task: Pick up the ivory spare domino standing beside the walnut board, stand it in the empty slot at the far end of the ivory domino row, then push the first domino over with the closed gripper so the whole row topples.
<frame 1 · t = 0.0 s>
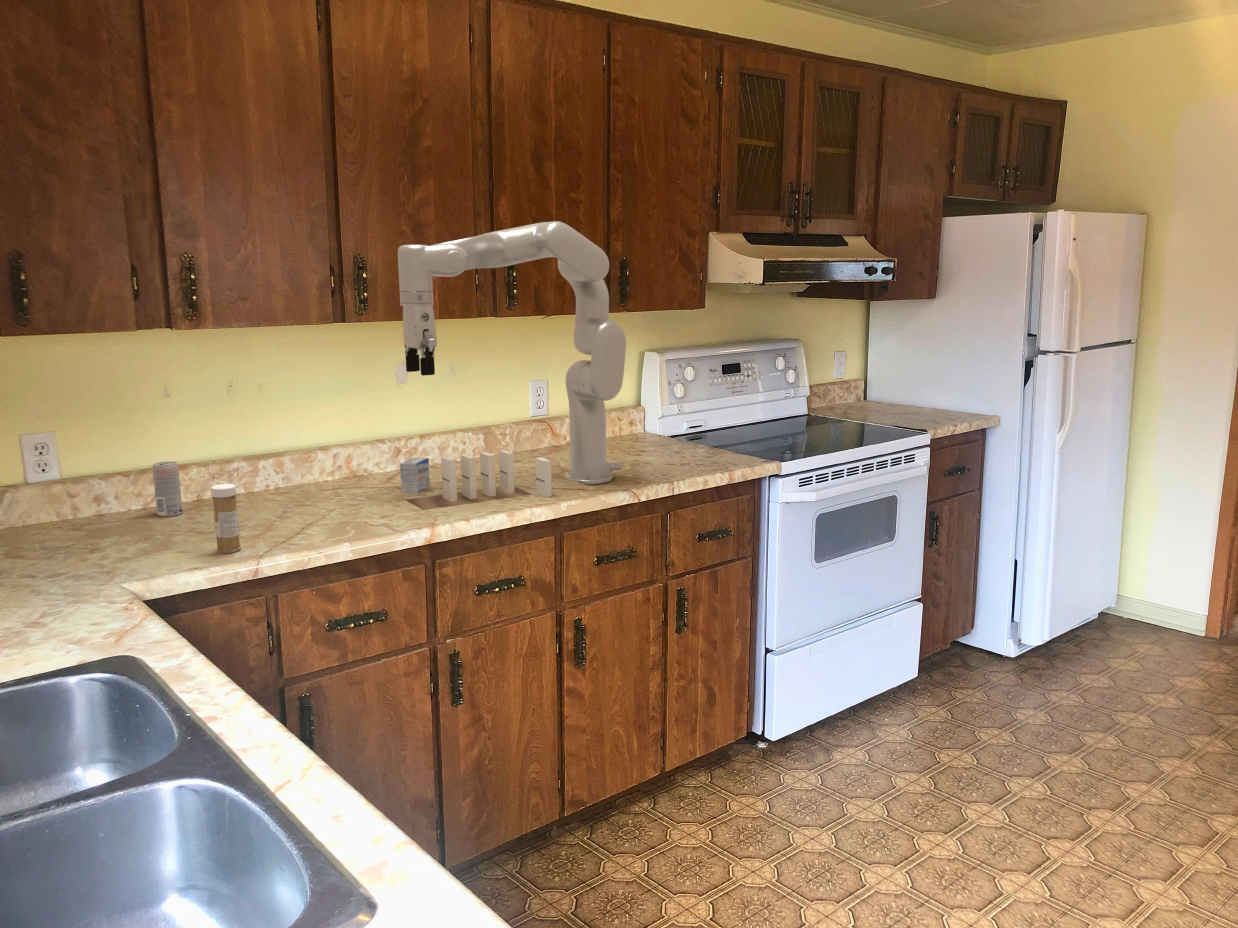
hand: (420, 373, 226), 31 cm above the counter, tool pointing down, fingers open, 9 cm apart
medicine box: (416, 495, 241), on the counter
domino 3: (469, 496, 233), point 1 cm above the counter, touching walnut board
energy drink: (170, 515, 223), on the counter
walnut board: (469, 501, 233), on the counter
sprinkles bottle: (229, 551, 194), on the counter
domino 2: (488, 494, 235), point 1 cm above the counter, touching walnut board
domino 1: (507, 491, 238), point 1 cm above the counter, touching walnut board
domino 4: (449, 499, 230), point 1 cm above the counter, touching walnut board
spare domino: (543, 499, 234), on the counter
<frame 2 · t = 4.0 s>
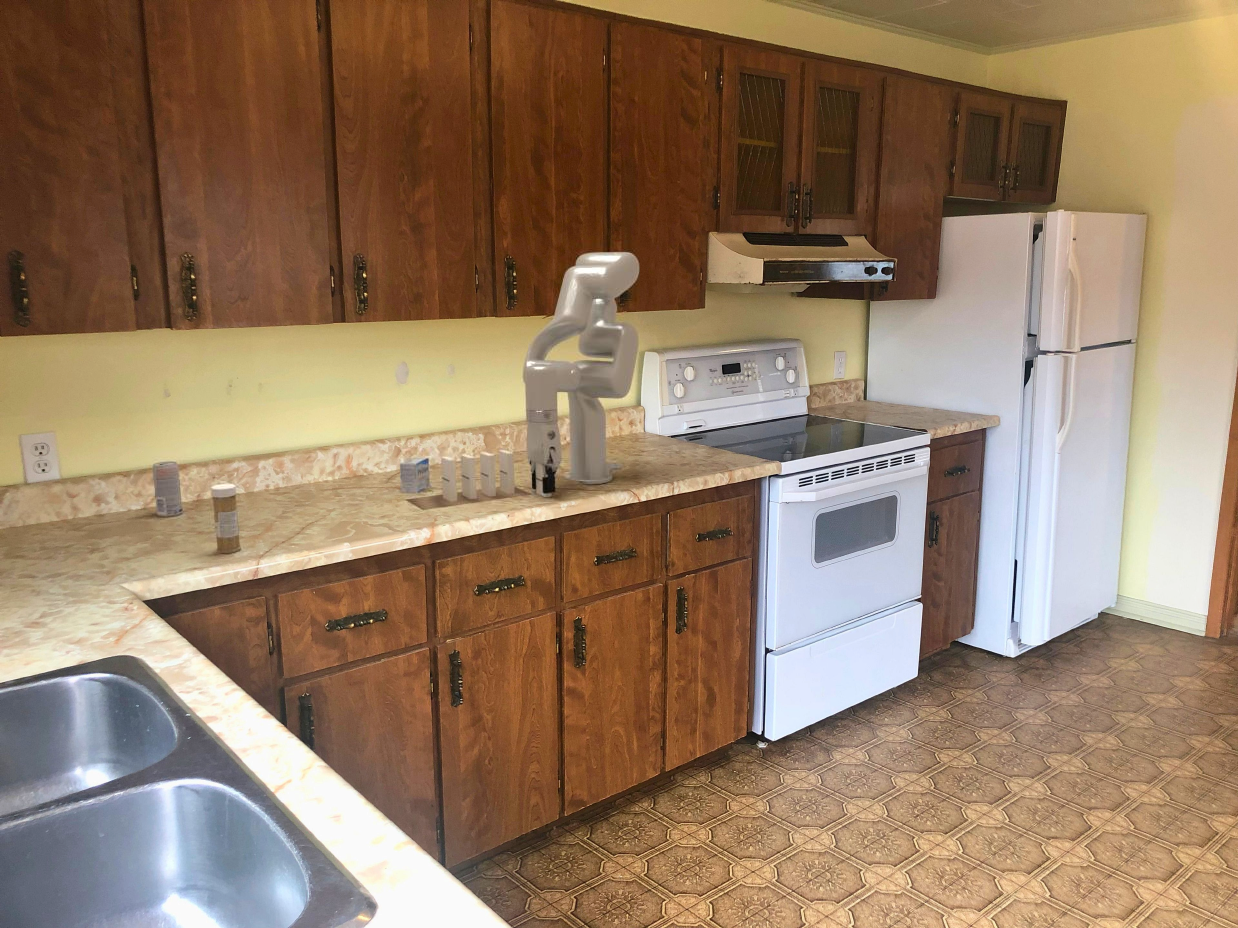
hand: (543, 489, 234), 2 cm above the counter, tool pointing down, fingers closed on spare domino, 4 cm apart
spare domino: (543, 499, 234), on the counter, touching gripper
everything else where it was.
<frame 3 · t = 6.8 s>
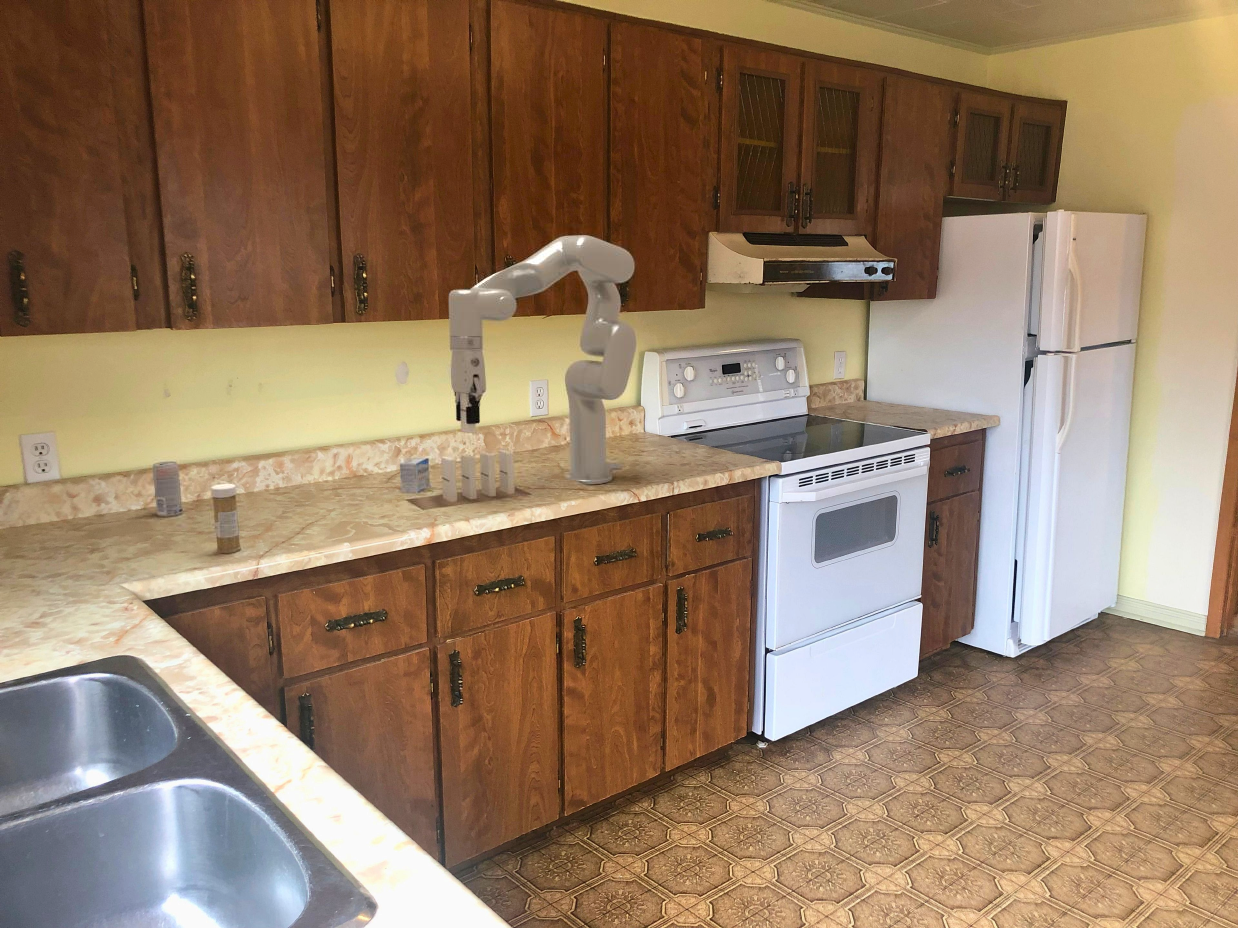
hand: (468, 421, 226), 20 cm above the counter, tool pointing down, fingers closed on spare domino, 4 cm apart
spare domino: (468, 431, 226), point 18 cm above the counter, touching gripper
everything else where it was.
when the fingers open (4 cm above the counter, at t = 10.0 s): spare domino stays where it is, resting on walnut board.
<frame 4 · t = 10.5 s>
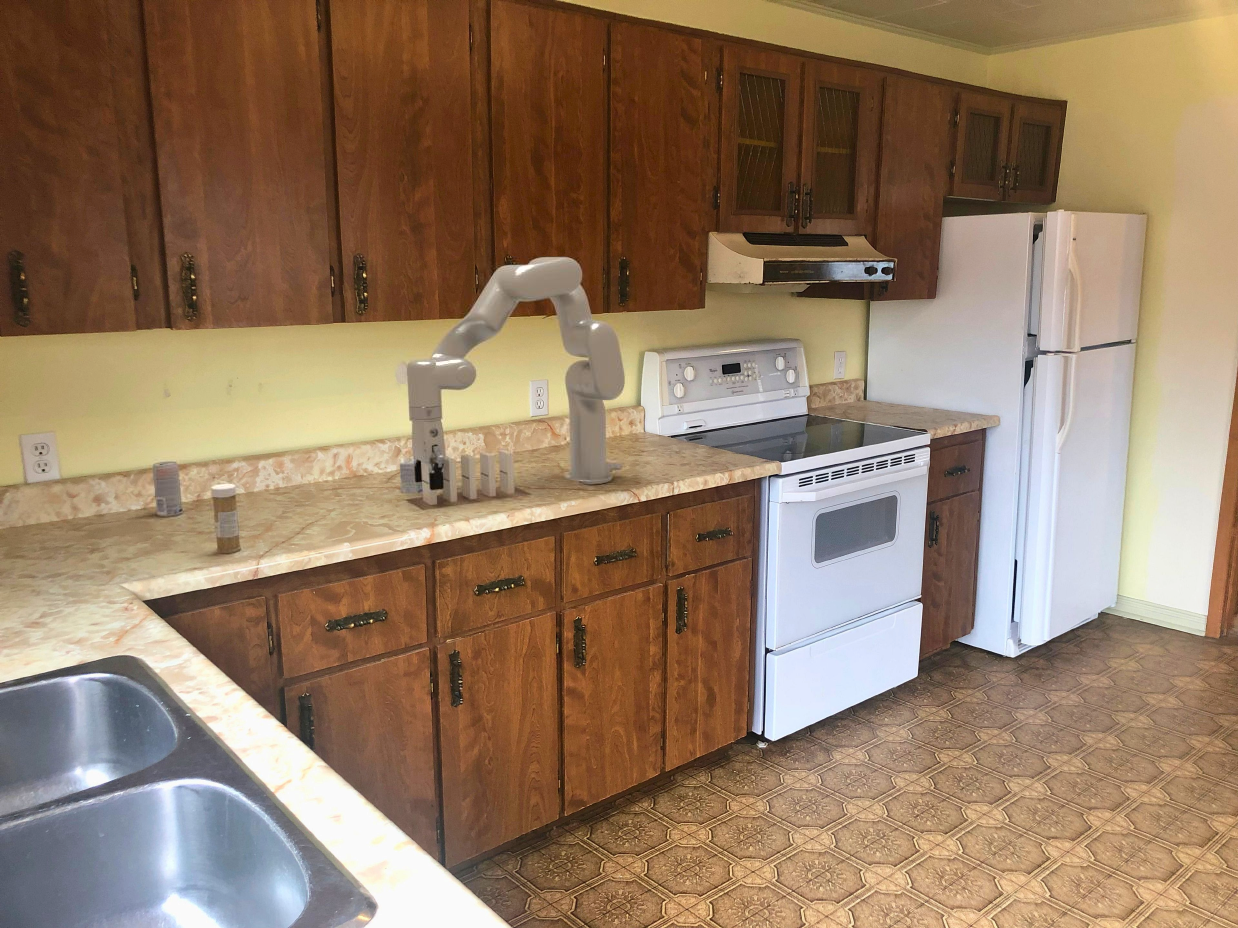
hand: (429, 485, 227), 5 cm above the counter, tool pointing down, fingers open, 9 cm apart
spare domino: (430, 502, 227), point 1 cm above the counter, touching walnut board
everything else where it was.
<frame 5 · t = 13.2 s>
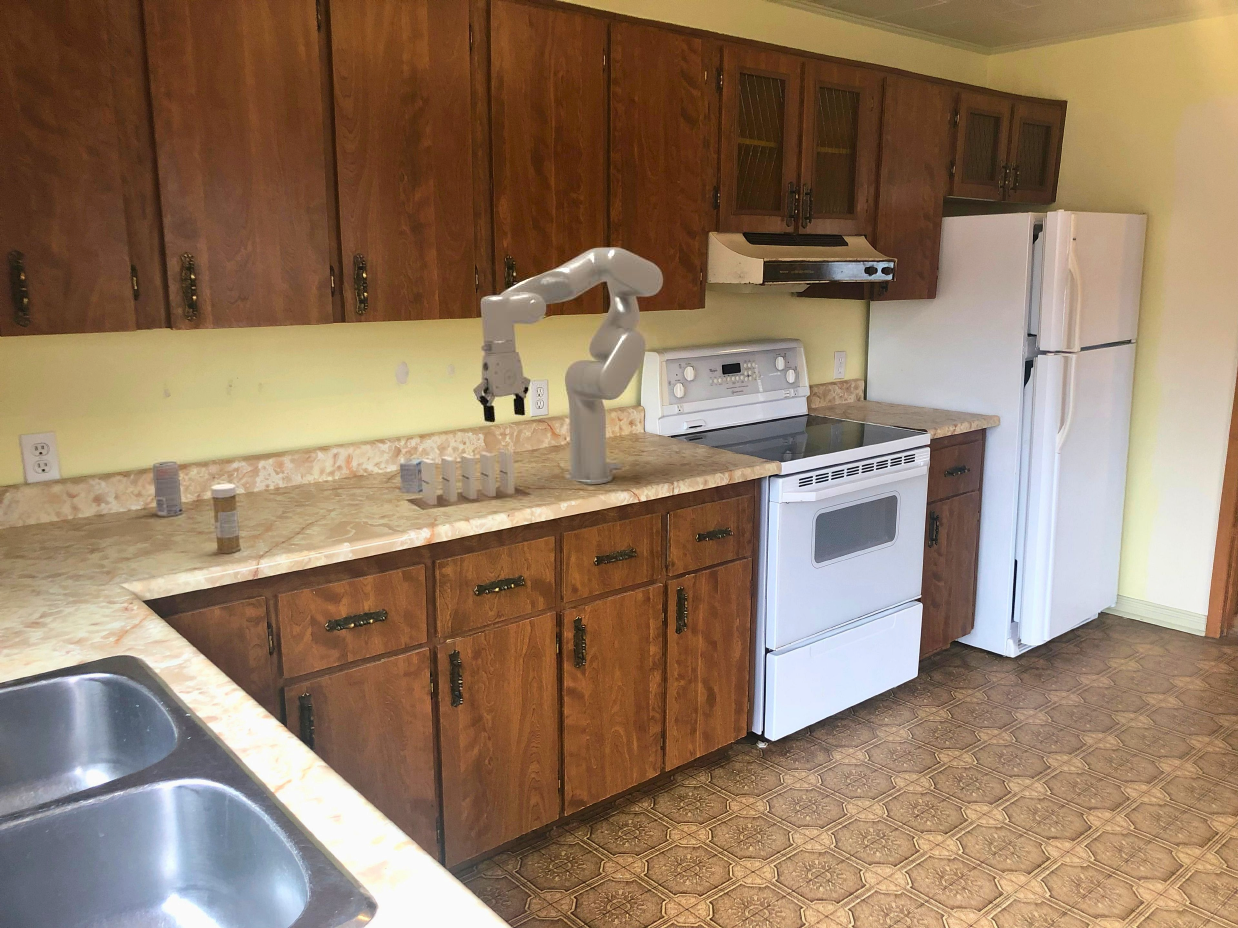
hand: (505, 418, 234), 19 cm above the counter, tool pointing down, fingers open, 9 cm apart
nothing on the counter moved.
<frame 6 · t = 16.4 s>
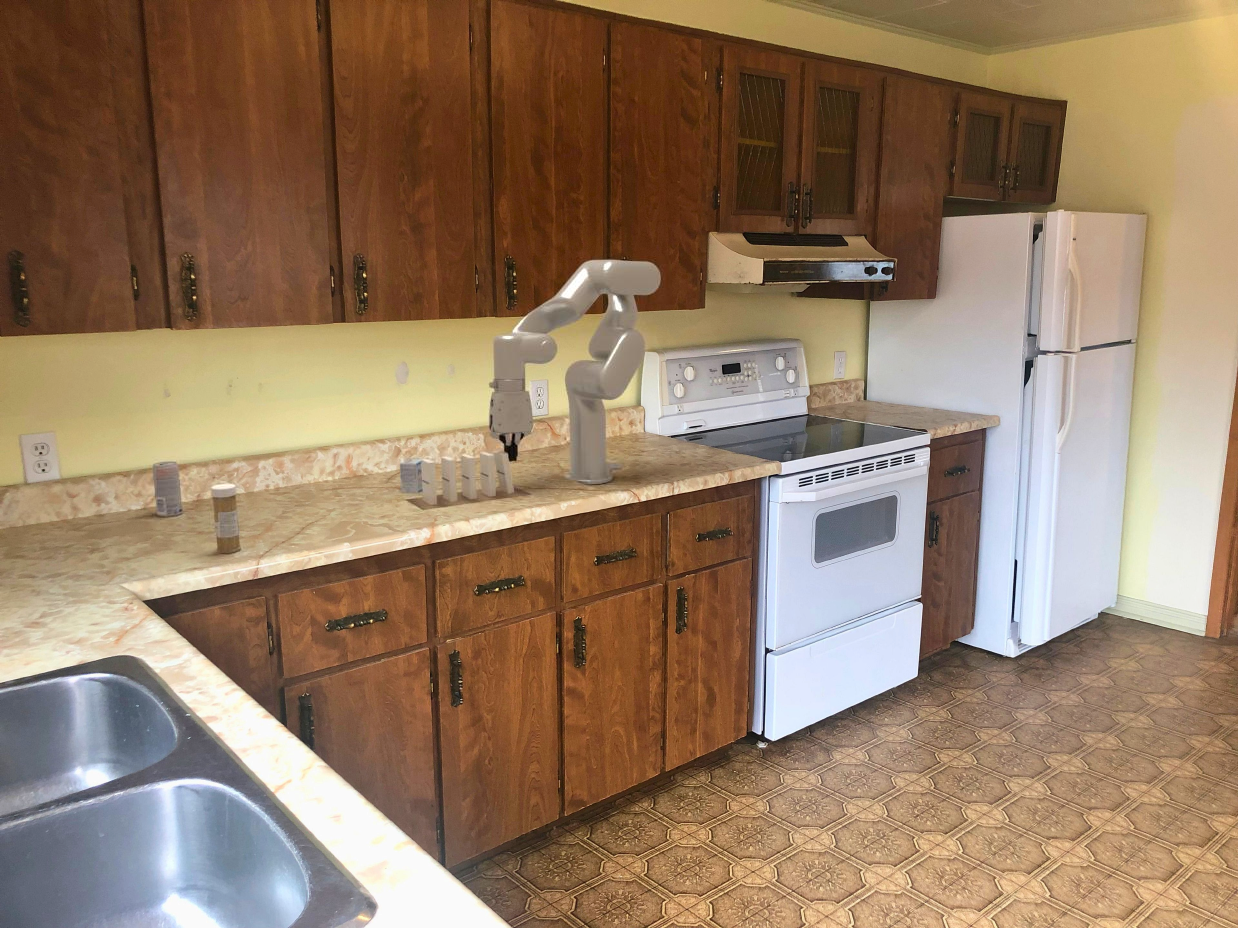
hand: (511, 460, 237), 9 cm above the counter, tool pointing down, fingers closed
domino 1: (507, 491, 238), point 1 cm above the counter, tilted 9°, touching walnut board
everything else where it was.
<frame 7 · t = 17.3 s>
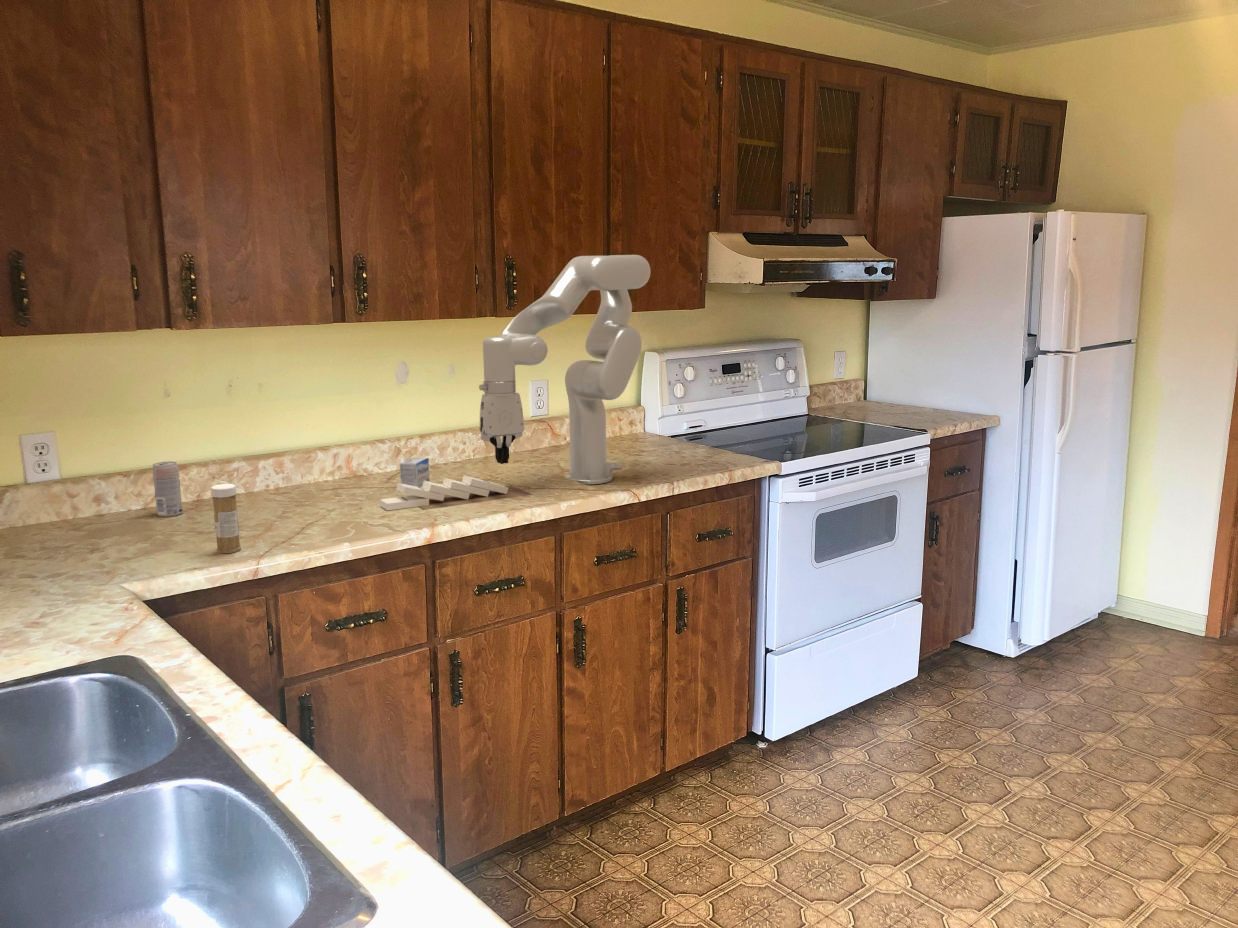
hand: (502, 462, 236), 9 cm above the counter, tool pointing down, fingers closed
domino 3: (464, 494, 232), point 2 cm above the counter, tilted 71°, touching domino 2, walnut board
domino 2: (484, 491, 234), point 2 cm above the counter, tilted 71°, touching domino 1, domino 3, walnut board
domino 1: (503, 489, 237), point 2 cm above the counter, tilted 70°, touching domino 2
domino 4: (440, 495, 229), point 2 cm above the counter, tilted 72°, touching spare domino
spare domino: (425, 499, 227), point 2 cm above the counter, tilted 90°, touching domino 4, walnut board
everything else where it was.
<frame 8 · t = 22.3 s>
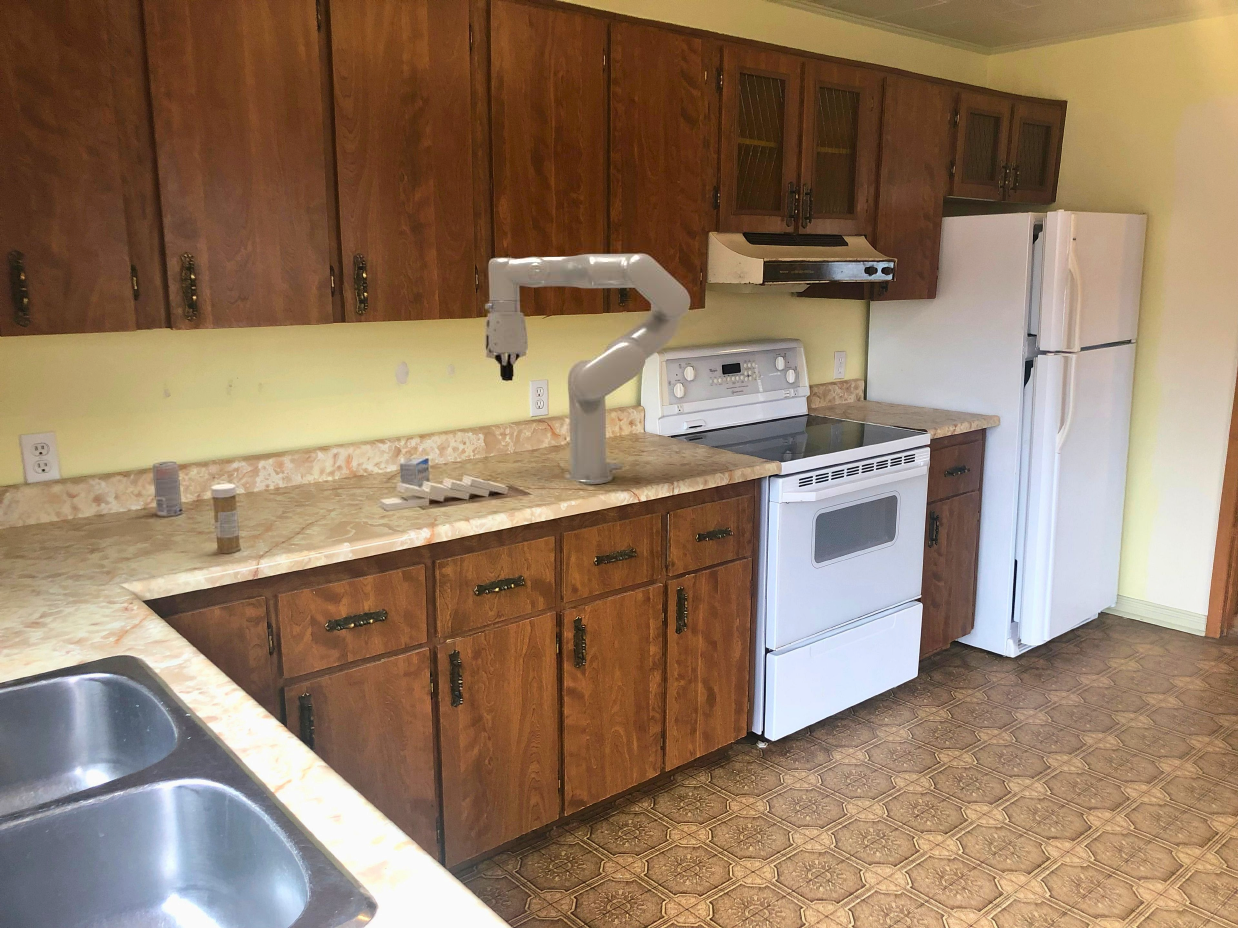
hand: (507, 380, 247), 27 cm above the counter, tool pointing down, fingers closed
domino 3: (464, 494, 232), point 2 cm above the counter, tilted 71°, touching domino 2, domino 4, walnut board
domino 1: (503, 489, 237), point 2 cm above the counter, tilted 70°, touching domino 2, walnut board
domino 4: (440, 495, 229), point 2 cm above the counter, tilted 71°, touching domino 3, spare domino
everything else where it was.
at the end: spare domino inside the target area (2.8 cm from its centre), point 2.0 cm above the counter; spare domino tilted 90°; domino 4 tilted 71° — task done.
